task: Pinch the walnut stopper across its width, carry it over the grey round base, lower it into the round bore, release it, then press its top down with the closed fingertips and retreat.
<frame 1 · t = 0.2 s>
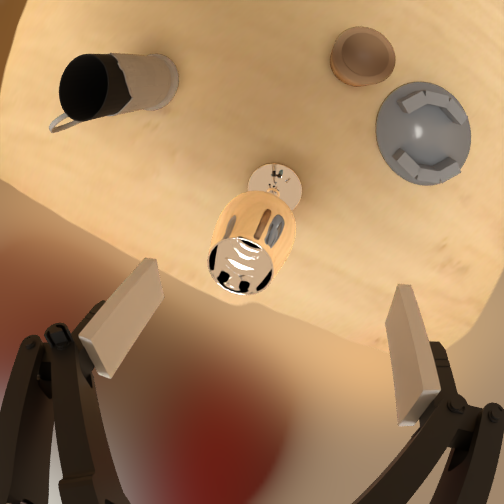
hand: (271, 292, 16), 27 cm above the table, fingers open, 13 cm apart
wineglass: (275, 189, 42), on the table
stopper: (354, 63, 31), on the table
glass holder: (138, 91, 38), on the table
grey round base: (425, 133, 33), on the table
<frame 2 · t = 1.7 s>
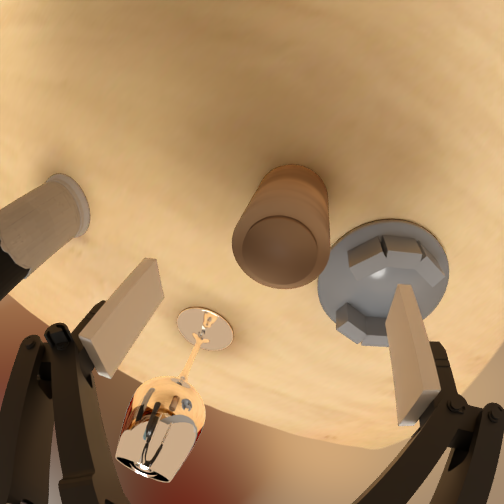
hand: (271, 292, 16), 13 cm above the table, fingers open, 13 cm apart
wineglass: (205, 328, 38), on the table
stopper: (292, 198, 27), on the table
glass holder: (56, 213, 34), on the table
grey round base: (384, 282, 29), on the table
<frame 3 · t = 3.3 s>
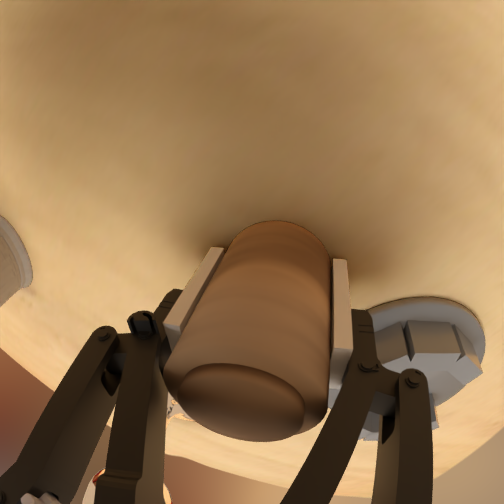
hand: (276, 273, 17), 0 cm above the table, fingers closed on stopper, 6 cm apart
wineglass: (175, 398, 29), on the table
stopper: (277, 269, 18), on the table, touching gripper
glass holder: (1, 258, 25), on the table
grey round base: (401, 368, 20), on the table
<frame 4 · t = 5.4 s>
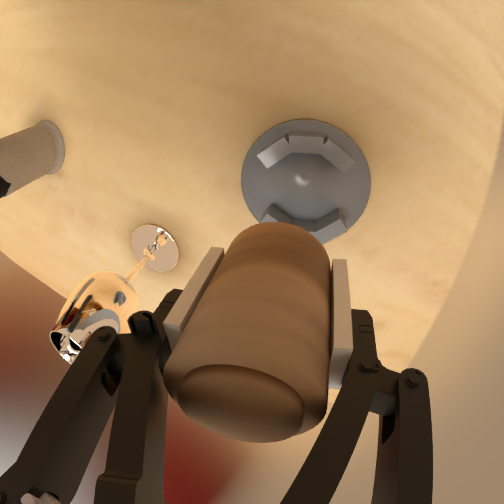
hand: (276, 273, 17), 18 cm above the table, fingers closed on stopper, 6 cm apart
wineglass: (155, 247, 41), on the table
stopper: (277, 270, 18), point 17 cm above the table, touching gripper
glass holder: (39, 156, 37), on the table
grey round base: (306, 182, 32), on the table
when the fingers open (3 cm above the table, at t = 7.8 s): stopper drops 2 cm, resting on grey round base.
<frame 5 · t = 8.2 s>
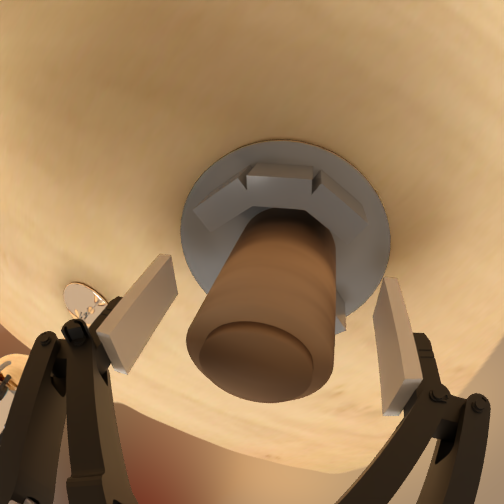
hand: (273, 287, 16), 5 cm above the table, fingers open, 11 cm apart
wineglass: (91, 309, 29), on the table
stopper: (287, 251, 19), point 1 cm above the table, touching grey round base
grey round base: (283, 245, 20), on the table
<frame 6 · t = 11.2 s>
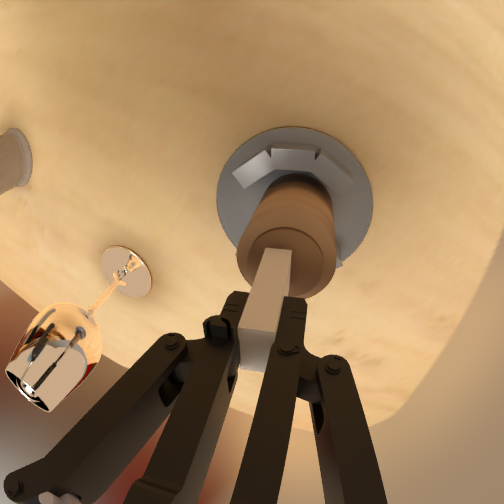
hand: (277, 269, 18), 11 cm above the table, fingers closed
wineglass: (126, 271, 36), on the table
stopper: (297, 207, 26), point 1 cm above the table, touching grey round base
glass holder: (9, 166, 32), on the table
grey round base: (294, 204, 27), on the table
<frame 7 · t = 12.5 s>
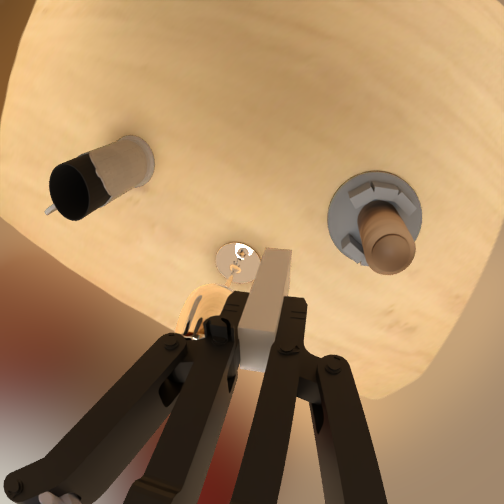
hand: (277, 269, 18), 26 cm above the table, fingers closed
wineglass: (238, 262, 49), on the table
stopper: (378, 221, 40), point 1 cm above the table, touching grey round base
glass holder: (120, 168, 45), on the table
grey round base: (375, 219, 41), on the table
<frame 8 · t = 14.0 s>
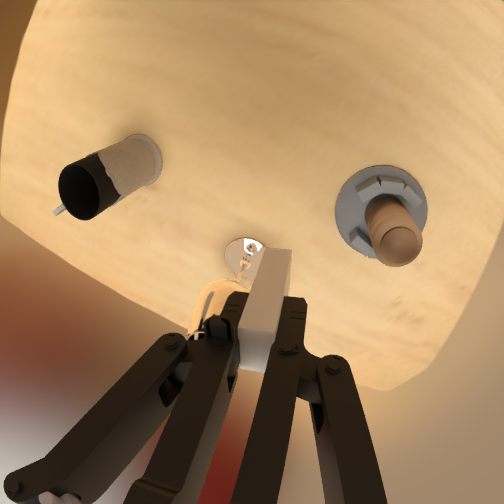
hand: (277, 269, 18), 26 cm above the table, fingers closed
wineglass: (247, 257, 50), on the table
stopper: (385, 214, 40), point 1 cm above the table, touching grey round base
glass holder: (128, 167, 46), on the table
grey round base: (382, 212, 41), on the table
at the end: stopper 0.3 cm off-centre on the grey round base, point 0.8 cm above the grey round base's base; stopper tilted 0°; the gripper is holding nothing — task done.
